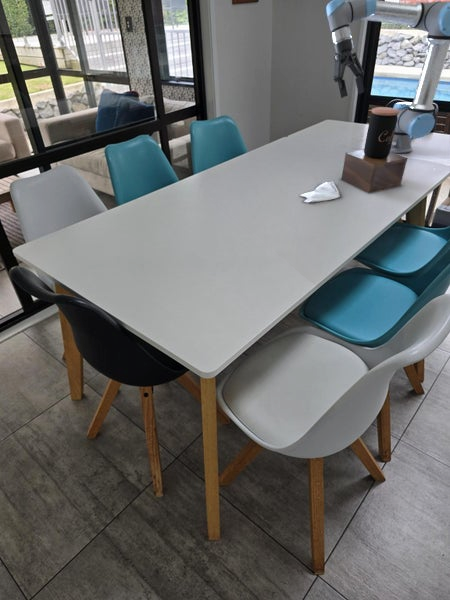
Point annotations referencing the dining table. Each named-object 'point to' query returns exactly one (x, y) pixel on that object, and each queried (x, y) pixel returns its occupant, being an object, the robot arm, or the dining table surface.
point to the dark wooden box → (373, 171)
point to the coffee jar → (380, 132)
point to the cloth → (322, 193)
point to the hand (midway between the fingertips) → (353, 94)
